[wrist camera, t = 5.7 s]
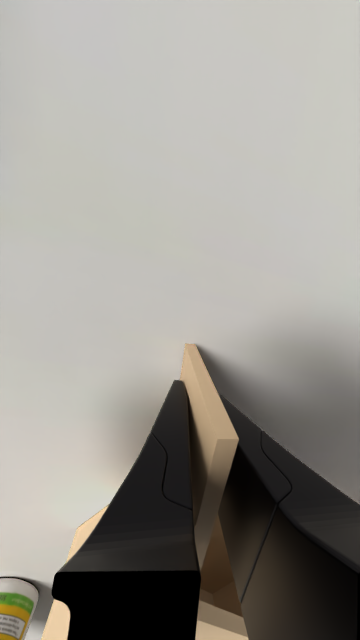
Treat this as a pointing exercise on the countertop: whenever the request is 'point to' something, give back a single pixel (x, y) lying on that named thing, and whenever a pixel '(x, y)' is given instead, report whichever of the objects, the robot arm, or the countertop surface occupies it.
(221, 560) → the carton
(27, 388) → the countertop surface
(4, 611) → the supplement bottle
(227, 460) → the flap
